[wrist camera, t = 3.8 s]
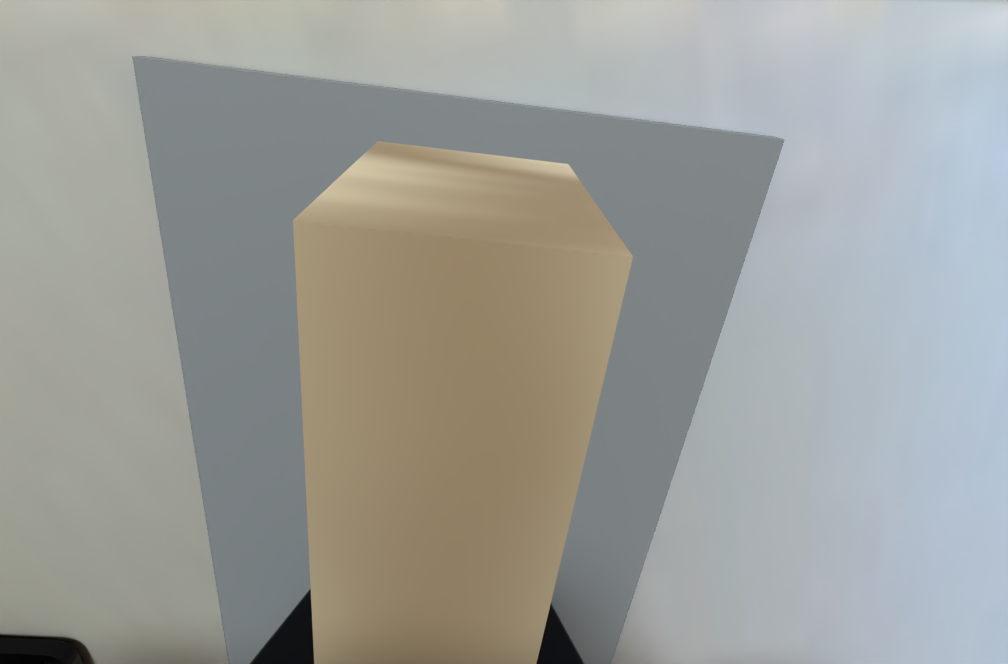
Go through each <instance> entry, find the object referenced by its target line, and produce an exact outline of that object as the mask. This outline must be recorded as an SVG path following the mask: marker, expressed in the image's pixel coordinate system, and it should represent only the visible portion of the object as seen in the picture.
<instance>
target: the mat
mask: <svg viewBox="0 0 1008 664" xmlns="http://www.w3.org/2000/svg"><path fill="white" fill-rule="evenodd" d="M133 63H134V69H135V76H136V82H137V88H138V95H139V101H140V107H141V113H142V120H143V126H144V132H145V139H146V145H147V151H148V158H149V164H150V170H151V176H152V183H153V189H154V195H155V202H156V208H157V214H158V220H159V227H160V233H161V239H162V246H163V252H164V258H165V264H166V271H167V277H168V283H169V290H170V296H171V302H172V309H173V315H174V321H175V327H176V334H177V340H178V346H179V353H180V359H181V365H182V371H183V378H184V384H185V390H186V397H187V403H188V409H189V415H190V422H191V428H192V434H193V441H194V447H195V453H196V459H197V466H198V472H199V478H200V485H201V491H202V497H203V504H204V510H205V516H206V522H207V529H208V535H209V541H210V548H211V554H212V560H213V566H214V573H215V579H216V585H217V592H218V598H219V604H220V610H221V617H222V623H223V629H224V636H225V642H226V648H227V655H228V661H229V664H250V662H251V661H252V660H253V659H254V657H255V656H256V655H257V654H258V652H259V651H260V650H261V649H262V648H263V646H264V645H265V644H266V643H267V641H268V640H269V639H270V638H271V636H272V635H273V634H274V633H275V631H276V630H277V629H278V628H279V627H280V625H281V624H282V623H283V622H284V620H285V619H286V618H287V617H288V615H289V614H290V613H291V612H292V610H293V609H294V608H295V607H296V606H297V604H298V603H299V602H300V601H301V599H302V598H303V597H304V596H305V594H306V593H307V592H308V591H309V590H310V588H311V586H310V565H309V544H308V523H307V502H306V481H305V460H304V440H303V419H302V398H301V377H300V356H299V335H298V314H297V293H296V272H295V251H294V230H293V220H294V219H295V218H296V217H297V216H298V215H299V214H300V213H301V212H302V211H303V210H304V209H305V208H307V207H308V206H309V205H310V204H311V203H312V202H313V201H314V200H315V199H316V198H317V197H318V196H319V195H320V194H322V193H323V192H324V191H325V190H326V189H327V188H328V187H329V186H330V185H331V184H332V183H333V182H334V181H335V180H337V179H338V178H339V177H340V176H341V175H342V174H343V173H344V172H345V171H346V170H347V169H348V168H349V167H351V166H352V165H353V164H354V163H355V162H356V161H357V160H358V159H359V158H360V157H361V156H362V155H363V154H364V153H366V152H367V151H368V150H369V149H370V148H371V147H372V146H373V145H374V144H375V143H376V142H377V141H382V142H390V143H398V144H407V145H415V146H423V147H431V148H440V149H448V150H456V151H465V152H473V153H481V154H489V155H498V156H506V157H514V158H523V159H531V160H539V161H547V162H556V163H564V164H569V166H570V167H571V169H572V170H573V172H574V173H575V174H576V176H577V177H578V179H579V180H580V182H581V183H582V184H583V186H584V187H585V189H586V190H587V192H588V193H589V194H590V196H591V197H592V199H593V200H594V202H595V203H596V204H597V206H598V207H599V209H600V210H601V212H602V213H603V214H604V216H605V217H606V219H607V220H608V222H609V223H610V224H611V226H612V227H613V229H614V230H615V232H616V233H617V234H618V236H619V237H620V239H621V240H622V242H623V243H624V244H625V246H626V247H627V249H628V250H629V252H630V253H631V254H632V256H633V259H632V263H631V268H630V272H629V276H628V280H627V284H626V289H625V293H624V297H623V301H622V306H621V310H620V314H619V318H618V322H617V327H616V331H615V335H614V339H613V343H612V348H611V352H610V356H609V360H608V364H607V369H606V373H605V377H604V381H603V386H602V390H601V394H600V398H599V402H598V407H597V411H596V415H595V419H594V423H593V428H592V432H591V436H590V440H589V444H588V449H587V453H586V457H585V461H584V466H583V470H582V474H581V478H580V482H579V487H578V491H577V495H576V499H575V503H574V508H573V512H572V516H571V520H570V524H569V529H568V533H567V537H566V541H565V545H564V550H563V554H562V558H561V562H560V567H559V571H558V575H557V579H556V583H555V588H554V592H553V596H552V600H551V604H552V605H553V607H554V609H555V611H556V613H557V614H558V616H559V618H560V620H561V622H562V623H563V625H564V627H565V629H566V631H567V633H568V634H569V636H570V638H571V640H572V642H573V643H574V645H575V647H576V649H577V651H578V652H579V654H580V656H581V658H582V660H583V661H584V663H585V664H611V661H612V658H613V655H614V652H615V649H616V646H617V643H618V640H619V637H620V634H621V631H622V628H623V625H624V622H625V619H626V616H627V613H628V610H629V607H630V604H631V601H632V598H633V595H634V592H635V589H636V586H637V583H638V580H639V577H640V574H641V571H642V568H643V565H644V562H645V559H646V556H647V553H648V550H649V547H650V544H651V541H652V538H653V535H654V532H655V529H656V526H657V523H658V520H659V517H660V514H661V511H662V508H663V505H664V502H665V499H666V495H667V492H668V489H669V486H670V483H671V480H672V477H673V474H674V471H675V468H676V465H677V462H678V459H679V456H680V453H681V450H682V447H683V444H684V441H685V438H686V435H687V432H688V429H689V426H690V423H691V420H692V417H693V414H694V411H695V408H696V405H697V402H698V399H699V396H700V393H701V390H702V387H703V384H704V381H705V378H706V375H707V372H708V369H709V366H710V363H711V360H712V357H713V354H714V351H715V348H716V345H717V342H718V339H719V336H720V333H721V330H722V327H723V324H724V321H725V318H726V315H727V311H728V308H729V305H730V302H731V299H732V296H733V293H734V290H735V287H736V284H737V281H738V278H739V275H740V272H741V269H742V266H743V263H744V260H745V257H746V254H747V251H748V248H749V245H750V242H751V239H752V236H753V233H754V230H755V227H756V224H757V221H758V218H759V215H760V212H761V209H762V206H763V203H764V200H765V197H766V194H767V191H768V188H769V185H770V182H771V179H772V176H773V173H774V170H775V167H776V164H777V161H778V158H779V155H780V152H781V149H782V146H783V143H784V139H781V138H777V137H772V136H764V135H756V134H749V133H741V132H733V131H725V130H717V129H709V128H702V127H694V126H686V125H678V124H670V123H663V122H655V121H647V120H639V119H631V118H623V117H616V116H608V115H600V114H592V113H584V112H576V111H569V110H561V109H553V108H545V107H537V106H530V105H522V104H514V103H506V102H498V101H490V100H483V99H475V98H467V97H459V96H451V95H443V94H436V93H428V92H420V91H412V90H404V89H397V88H389V87H381V86H373V85H365V84H357V83H350V82H342V81H334V80H326V79H318V78H310V77H303V76H295V75H287V74H279V73H271V72H264V71H256V70H248V69H240V68H232V67H224V66H217V65H209V64H201V63H193V62H185V61H177V60H170V59H162V58H154V57H146V56H135V57H133Z"/></svg>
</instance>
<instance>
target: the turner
mask: <svg viewBox="0 0 1008 664" xmlns="http://www.w3.org/2000/svg"><path fill="white" fill-rule="evenodd" d="M293 230H294V251H295V272H296V293H297V314H298V335H299V356H300V377H301V398H302V419H303V440H304V460H305V481H306V502H307V523H308V544H309V565H310V586H311V607H312V628H313V649H314V664H536V663H537V659H538V655H539V651H540V647H541V642H542V638H543V634H544V630H545V625H546V621H547V617H548V613H549V609H550V604H551V600H552V596H553V592H554V588H555V583H556V579H557V575H558V571H559V567H560V562H561V558H562V554H563V550H564V545H565V541H566V537H567V533H568V529H569V524H570V520H571V516H572V512H573V508H574V503H575V499H576V495H577V491H578V487H579V482H580V478H581V474H582V470H583V466H584V461H585V457H586V453H587V449H588V444H589V440H590V436H591V432H592V428H593V423H594V419H595V415H596V411H597V407H598V402H599V398H600V394H601V390H602V386H603V381H604V377H605V373H606V369H607V364H608V360H609V356H610V352H611V348H612V343H613V339H614V335H615V331H616V327H617V322H618V318H619V314H620V310H621V306H622V301H623V297H624V293H625V289H626V284H627V280H628V276H629V272H630V268H631V263H632V259H633V256H632V254H631V253H630V252H629V250H628V249H627V247H626V246H625V244H624V243H623V242H622V240H621V239H620V237H619V236H618V234H617V233H616V232H615V230H614V229H613V227H612V226H611V224H610V223H609V222H608V220H607V219H606V217H605V216H604V214H603V213H602V212H601V210H600V209H599V207H598V206H597V204H596V203H595V202H594V200H593V199H592V197H591V196H590V194H589V193H588V192H587V190H586V189H585V187H584V186H583V184H582V183H581V182H580V180H579V179H578V177H577V176H576V174H575V173H574V172H573V170H572V169H571V167H570V166H569V164H564V163H556V162H547V161H539V160H531V159H523V158H514V157H506V156H498V155H489V154H481V153H473V152H465V151H456V150H448V149H440V148H431V147H423V146H415V145H407V144H398V143H390V142H382V141H377V142H376V143H375V144H374V145H373V146H372V147H371V148H370V149H369V150H368V151H367V152H366V153H364V154H363V155H362V156H361V157H360V158H359V159H358V160H357V161H356V162H355V163H354V164H353V165H352V166H351V167H349V168H348V169H347V170H346V171H345V172H344V173H343V174H342V175H341V176H340V177H339V178H338V179H337V180H335V181H334V182H333V183H332V184H331V185H330V186H329V187H328V188H327V189H326V190H325V191H324V192H323V193H322V194H320V195H319V196H318V197H317V198H316V199H315V200H314V201H313V202H312V203H311V204H310V205H309V206H308V207H307V208H305V209H304V210H303V211H302V212H301V213H300V214H299V215H298V216H297V217H296V218H295V219H294V220H293Z"/></svg>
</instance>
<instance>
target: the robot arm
mask: <svg viewBox="0 0 1008 664" xmlns="http://www.w3.org/2000/svg"><path fill="white" fill-rule="evenodd" d="M0 664H82V661H81V658H80V655H79V653H78V651H77V650H76V648H74V647H73V646H72V645H70V644H68V643H66V642H63V641H59V640H49V639H27V638H4V637H0ZM250 664H314V649H313V628H312V607H311V588H310V590H309V591H308V592H307V593H306V594H305V596H304V597H303V598H302V599H301V601H300V602H299V603H298V604H297V606H296V607H295V608H294V609H293V610H292V612H291V613H290V614H289V615H288V617H287V618H286V619H285V620H284V622H283V623H282V624H281V625H280V627H279V628H278V629H277V630H276V631H275V633H274V634H273V635H272V636H271V638H270V639H269V640H268V641H267V643H266V644H265V645H264V646H263V648H262V649H261V650H260V651H259V652H258V654H257V655H256V656H255V657H254V659H253V660H252V661H251V662H250ZM536 664H585V663H584V661H583V660H582V658H581V656H580V654H579V652H578V651H577V649H576V647H575V645H574V643H573V642H572V640H571V638H570V636H569V634H568V633H567V631H566V629H565V627H564V625H563V623H562V622H561V620H560V618H559V616H558V614H557V613H556V611H555V609H554V607H553V605H552V604H550V609H549V613H548V617H547V621H546V625H545V630H544V634H543V638H542V642H541V647H540V651H539V655H538V659H537V663H536Z"/></svg>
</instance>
